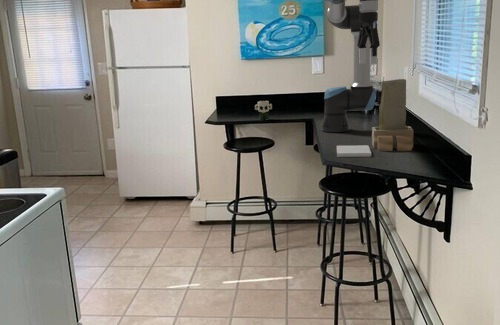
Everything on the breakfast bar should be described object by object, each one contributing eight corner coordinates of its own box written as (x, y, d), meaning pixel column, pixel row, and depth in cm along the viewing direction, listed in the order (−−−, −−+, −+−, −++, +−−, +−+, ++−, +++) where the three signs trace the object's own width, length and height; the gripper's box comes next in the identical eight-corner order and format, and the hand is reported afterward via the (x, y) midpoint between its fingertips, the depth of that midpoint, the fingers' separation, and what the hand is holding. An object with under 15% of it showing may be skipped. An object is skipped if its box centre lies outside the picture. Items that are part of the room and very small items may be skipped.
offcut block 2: (395, 148, 212) (396, 135, 210) (409, 148, 211) (410, 135, 209) (397, 150, 208) (397, 137, 206) (411, 150, 207) (411, 137, 205)
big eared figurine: (255, 123, 303) (254, 102, 300) (255, 121, 310) (254, 101, 307) (272, 122, 303) (272, 101, 300) (271, 120, 310) (271, 100, 307)
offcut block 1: (377, 148, 213) (377, 135, 212) (391, 148, 212) (391, 135, 210) (378, 150, 209) (378, 137, 208) (392, 150, 208) (392, 137, 207)
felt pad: (336, 148, 216) (336, 145, 216) (368, 148, 214) (368, 145, 214) (337, 156, 201) (337, 153, 201) (371, 156, 199) (371, 153, 198)
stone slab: (402, 143, 221) (404, 78, 214) (406, 145, 217) (408, 79, 210) (377, 145, 219) (378, 80, 212) (380, 147, 215) (382, 80, 208)
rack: (371, 143, 224) (372, 126, 222) (409, 143, 221) (409, 126, 219) (373, 148, 215) (374, 130, 213) (412, 147, 212) (413, 130, 210)
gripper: (350, 14, 209) (350, 63, 215) (370, 10, 185) (369, 65, 191) (366, 13, 210) (366, 62, 215) (388, 9, 186) (387, 64, 191)
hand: (367, 63), depth 203 cm, fingers open, 13 cm apart
